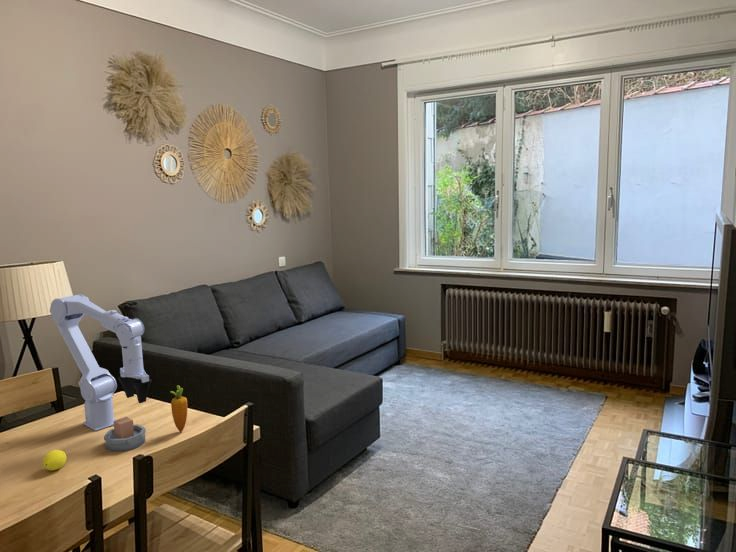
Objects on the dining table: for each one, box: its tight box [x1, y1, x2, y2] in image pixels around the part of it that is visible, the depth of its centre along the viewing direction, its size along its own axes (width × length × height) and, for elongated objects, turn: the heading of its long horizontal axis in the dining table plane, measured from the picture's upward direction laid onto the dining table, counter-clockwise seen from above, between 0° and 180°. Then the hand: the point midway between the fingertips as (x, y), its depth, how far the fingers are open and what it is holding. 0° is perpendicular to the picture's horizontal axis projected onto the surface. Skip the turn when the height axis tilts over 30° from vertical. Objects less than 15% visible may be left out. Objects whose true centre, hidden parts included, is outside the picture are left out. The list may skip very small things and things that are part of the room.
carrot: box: [169, 385, 188, 433], centre depth 172 cm, size 5×5×15 cm
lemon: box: [42, 449, 67, 471], centre depth 150 cm, size 7×5×5 cm
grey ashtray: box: [103, 423, 147, 453], centre depth 166 cm, size 11×11×4 cm
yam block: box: [113, 416, 134, 439], centre depth 165 cm, size 4×4×5 cm
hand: (136, 399), depth 173 cm, fingers open, 7 cm apart
